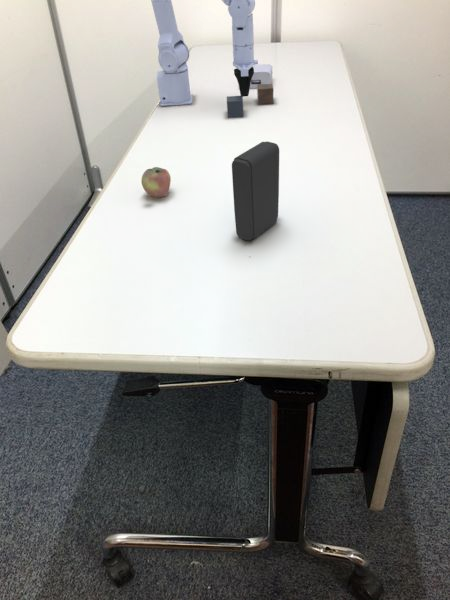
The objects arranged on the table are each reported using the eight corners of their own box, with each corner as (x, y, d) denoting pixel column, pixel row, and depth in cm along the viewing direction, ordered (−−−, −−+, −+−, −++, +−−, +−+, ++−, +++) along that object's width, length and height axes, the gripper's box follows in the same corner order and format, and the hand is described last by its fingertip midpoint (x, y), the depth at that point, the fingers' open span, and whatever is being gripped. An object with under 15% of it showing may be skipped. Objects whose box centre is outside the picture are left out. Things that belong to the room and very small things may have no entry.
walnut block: (258, 105, 135) (257, 89, 132) (257, 100, 138) (257, 84, 136) (273, 104, 135) (273, 88, 132) (272, 99, 138) (272, 83, 135)
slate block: (227, 118, 129) (226, 101, 126) (227, 112, 132) (226, 96, 129) (243, 117, 129) (242, 100, 126) (243, 111, 132) (242, 95, 129)
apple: (140, 205, 94) (135, 178, 90) (147, 187, 100) (142, 161, 96) (169, 204, 94) (165, 177, 90) (174, 186, 100) (171, 160, 96)
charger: (273, 74, 157) (270, 87, 146) (246, 74, 159) (241, 88, 148) (273, 58, 154) (270, 71, 143) (245, 59, 156) (241, 72, 145)
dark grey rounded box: (263, 215, 88) (262, 137, 79) (280, 221, 86) (282, 142, 77) (233, 237, 83) (228, 157, 74) (251, 244, 81) (248, 163, 71)
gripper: (259, 49, 121) (259, 103, 130) (256, 37, 132) (256, 87, 141) (232, 51, 121) (234, 104, 130) (231, 38, 132) (233, 88, 141)
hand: (244, 95), depth 136 cm, fingers closed
